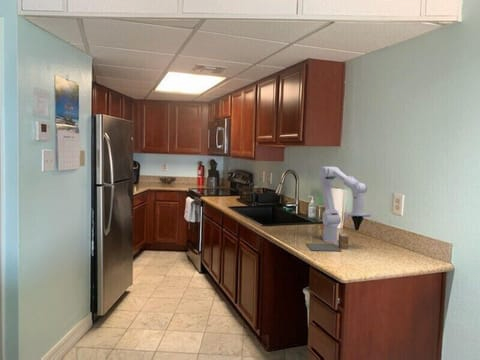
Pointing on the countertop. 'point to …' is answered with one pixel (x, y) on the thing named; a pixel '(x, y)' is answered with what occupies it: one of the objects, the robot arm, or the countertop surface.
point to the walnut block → (343, 240)
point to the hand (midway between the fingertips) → (356, 229)
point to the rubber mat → (323, 247)
